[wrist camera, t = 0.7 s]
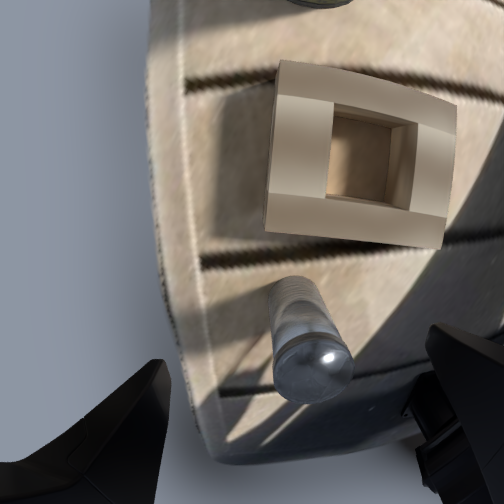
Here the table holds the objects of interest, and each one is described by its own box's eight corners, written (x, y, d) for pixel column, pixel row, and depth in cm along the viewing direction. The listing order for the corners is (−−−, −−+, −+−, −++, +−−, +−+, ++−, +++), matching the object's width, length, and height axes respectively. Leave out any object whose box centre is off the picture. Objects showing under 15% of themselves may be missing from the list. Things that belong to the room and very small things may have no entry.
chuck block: (413, 235, 21) (440, 249, 17) (262, 218, 21) (264, 231, 17) (427, 111, 18) (456, 105, 14) (275, 78, 18) (280, 59, 14)
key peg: (315, 324, 23) (342, 402, 15) (263, 321, 23) (268, 403, 14) (325, 276, 22) (363, 342, 13) (269, 272, 22) (279, 341, 13)
